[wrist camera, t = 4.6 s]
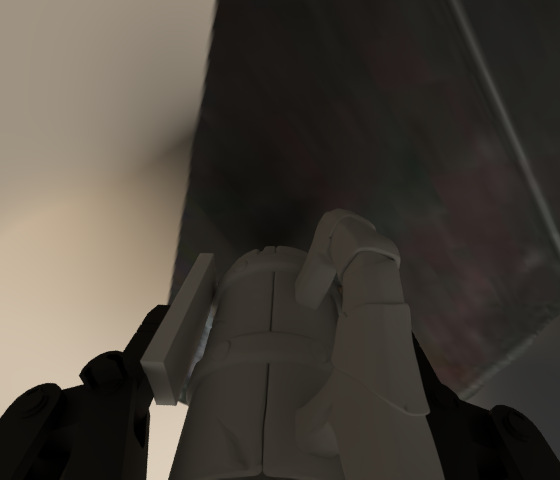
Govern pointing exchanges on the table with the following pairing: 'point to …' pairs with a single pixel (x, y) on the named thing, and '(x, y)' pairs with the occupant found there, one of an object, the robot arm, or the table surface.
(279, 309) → the mug
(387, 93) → the table surface
